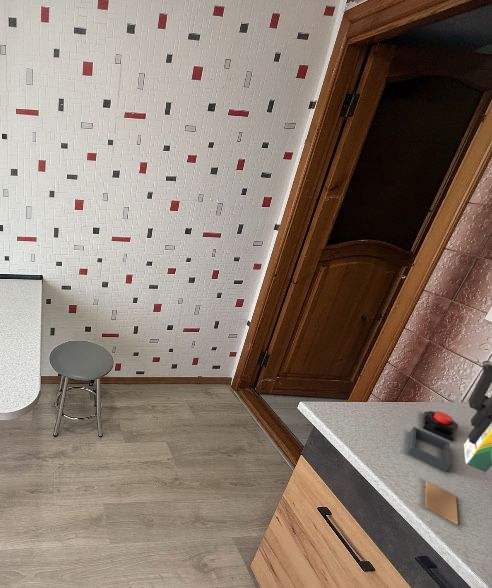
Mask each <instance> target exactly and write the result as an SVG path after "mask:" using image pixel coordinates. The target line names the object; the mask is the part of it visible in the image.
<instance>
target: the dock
mask: <svg viewBox="0 0 492 588" xmlns="http://www.w3.org/2000/svg"><path fill="white" fill-rule="evenodd" d="M417 439H419V440H422V441H423V442H426V443H428V444H430V445H432V446H435V447H437V448H438V449H441V458H439V457H437V456H435V455H433V454H431V453H429V452H426V451H425V450H422V449H420V448H418V447H416V442H417ZM450 443H451V442H449V441H448V440H446V439H444V438H442V437H441V438H440V437H438V436H436V435H435V434H433V433H432V434H431V433H429V432H428V431H426V430H422V429H420V428H418V427H416V426H412V428H411V430H410V432H409V433H408V444H407V445H408V446H407V455H409V456H412V457H413V458H415V459H418V460H420V461H422V462H424V463H426V464H428V465H430V466H433V467H434V468H436V469H438V470H441V471H443V472H445V473H446V472H447V471H448V470H449V468H451V466H452V460H451V459H452V458H451V444H450Z"/></svg>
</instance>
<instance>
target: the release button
mask: <svg viewBox="0 0 492 588" xmlns="http://www.w3.org/2000/svg"><path fill="white" fill-rule="evenodd" d="M435 412H436V413H435V414H434V416H433V417H434V418H435V419H436V420H438V421H439V422H441V423H444V424H447V425H450V424H451V422H452V421H453V420H454V418H453V417H452V416H451V415H449V414H448V413H446V412H442V411H435Z"/></svg>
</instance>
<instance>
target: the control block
mask: <svg viewBox="0 0 492 588" xmlns="http://www.w3.org/2000/svg"><path fill="white" fill-rule="evenodd" d="M436 412H437V411H433V410H429V411H426V410H425V411H424V412H423V415H422V429H423V430H424V431H426V432H428V433H429V432H430V433H432V434H433V435H435V436H436V435H437V437H438V436H439V437H441V438H442V439H444V440H447V441H450V442H453V441H454V439H455V434H454V433H456V431H457V430H458V429H459V424H458V423H457V422H456V421H455V420H454V419H453V421H452V422H451V424H450V425H447V424H444V423H441V422H439V421H438V420H436V419H435V418H434V417H433V416H434V414H435V413H436Z"/></svg>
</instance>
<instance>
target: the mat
mask: <svg viewBox="0 0 492 588" xmlns="http://www.w3.org/2000/svg"><path fill="white" fill-rule="evenodd" d="M424 498H425V501H424V507H425V508H426V509H428V510H430V511H432V512H434V513H436V515H439V516H441V517H443V518H445V519H447V520H449V521H450V522H452V523H453V524H456V525H458V524H459V519H458V517H459V516H458V504H457V503H458V502H457V496H456V495H455V494H453V493H451V492H448V491H446V490H444V488H441V487H439V486H438V485H436V484H433V483H431V482H430V481H428V480H426V481H425V496H424Z"/></svg>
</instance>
